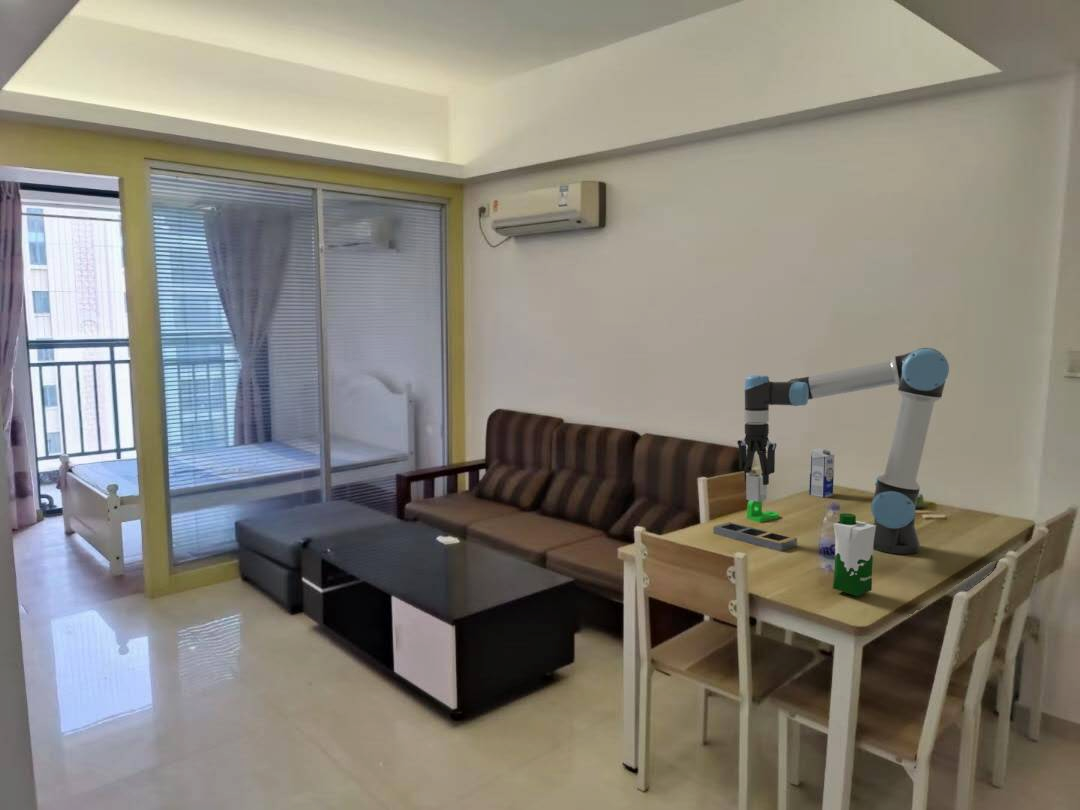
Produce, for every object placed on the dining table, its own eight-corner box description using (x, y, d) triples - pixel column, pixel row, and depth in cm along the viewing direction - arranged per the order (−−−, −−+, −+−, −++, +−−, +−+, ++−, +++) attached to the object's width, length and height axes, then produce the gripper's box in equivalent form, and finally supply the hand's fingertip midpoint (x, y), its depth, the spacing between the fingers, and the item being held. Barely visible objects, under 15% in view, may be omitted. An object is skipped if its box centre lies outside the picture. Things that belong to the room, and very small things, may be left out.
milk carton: (817, 494, 307) (819, 447, 305) (833, 497, 302) (834, 449, 300) (808, 497, 303) (810, 449, 300) (824, 500, 297) (826, 451, 295)
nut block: (766, 499, 241) (766, 475, 240) (758, 501, 238) (758, 477, 237) (754, 497, 244) (754, 473, 244) (746, 499, 242) (746, 475, 241)
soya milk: (845, 581, 203) (848, 510, 201) (877, 590, 195) (880, 517, 193) (827, 588, 198) (830, 515, 195) (859, 598, 190) (862, 523, 188)
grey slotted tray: (796, 545, 236) (797, 537, 235) (781, 551, 230) (781, 543, 230) (729, 529, 256) (729, 521, 255) (713, 533, 250) (713, 526, 250)
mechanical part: (759, 524, 263) (760, 502, 262) (746, 520, 268) (747, 498, 267) (782, 519, 269) (782, 498, 268) (769, 515, 274) (770, 494, 273)
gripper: (787, 423, 234) (786, 495, 237) (740, 419, 248) (740, 487, 250) (773, 426, 230) (773, 499, 232) (727, 421, 243) (727, 490, 246)
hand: (756, 492), depth 241 cm, fingers closed on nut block, 4 cm apart
